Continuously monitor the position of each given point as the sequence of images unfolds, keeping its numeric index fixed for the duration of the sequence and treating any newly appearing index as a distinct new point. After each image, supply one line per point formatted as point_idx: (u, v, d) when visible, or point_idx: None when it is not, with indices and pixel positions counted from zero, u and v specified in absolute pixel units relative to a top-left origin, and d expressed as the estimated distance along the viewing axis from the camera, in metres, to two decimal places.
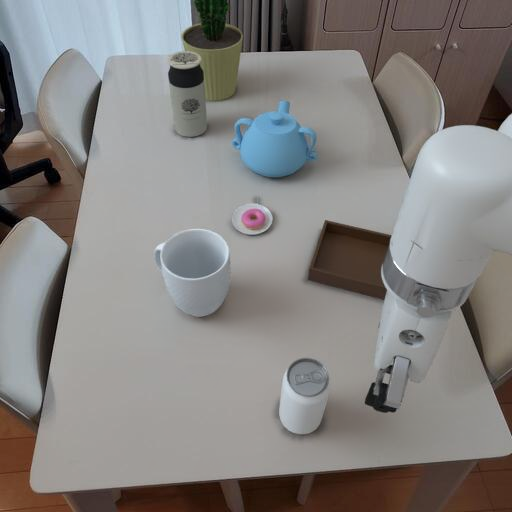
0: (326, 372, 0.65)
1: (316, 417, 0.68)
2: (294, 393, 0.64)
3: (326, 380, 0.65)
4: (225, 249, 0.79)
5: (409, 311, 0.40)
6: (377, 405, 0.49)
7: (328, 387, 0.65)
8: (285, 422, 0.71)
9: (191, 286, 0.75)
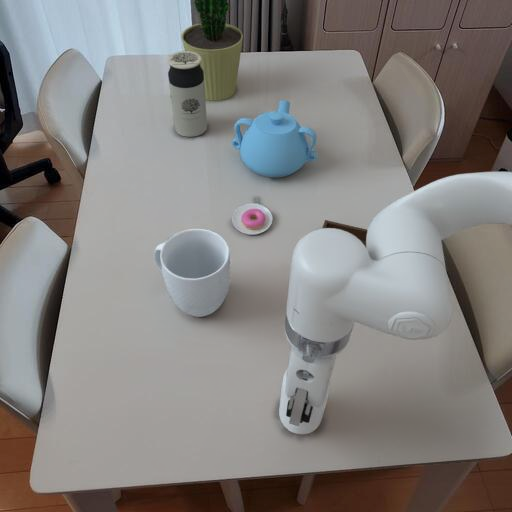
0: None
1: (316, 417, 0.68)
2: None
3: None
4: (225, 249, 0.79)
5: (301, 356, 0.54)
6: None
7: (328, 387, 0.65)
8: (285, 422, 0.71)
9: (191, 286, 0.75)
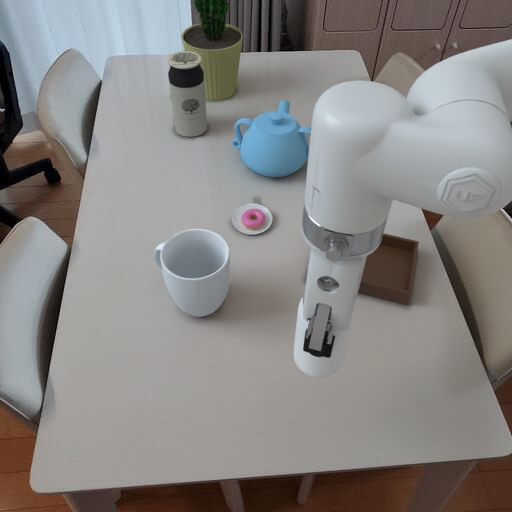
0: None
1: (338, 353, 0.58)
2: None
3: None
4: (225, 249, 0.79)
5: (323, 258, 0.44)
6: (312, 350, 0.54)
7: (352, 314, 0.55)
8: (301, 363, 0.61)
9: (191, 286, 0.75)
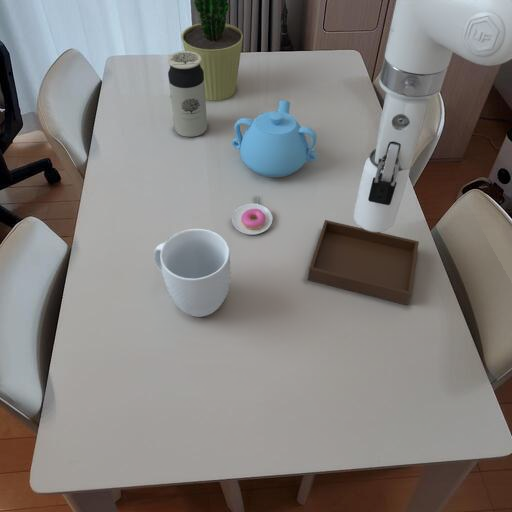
0: None
1: (394, 206, 0.72)
2: None
3: None
4: (225, 249, 0.79)
5: (399, 99, 0.58)
6: (377, 195, 0.69)
7: (408, 169, 0.69)
8: (362, 219, 0.75)
9: (191, 286, 0.75)
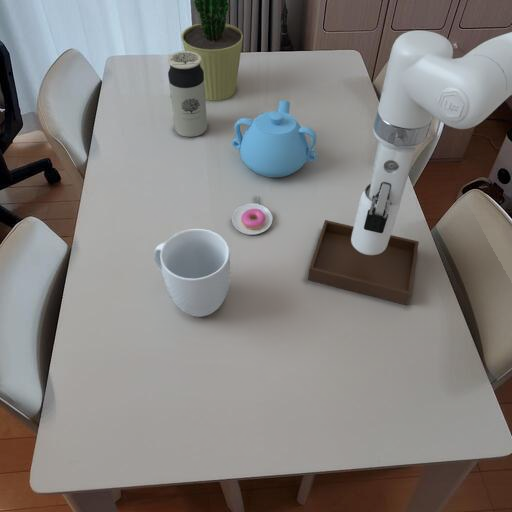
0: None
1: (386, 233, 0.82)
2: None
3: None
4: (225, 249, 0.79)
5: (389, 148, 0.68)
6: (371, 225, 0.79)
7: None
8: (358, 243, 0.85)
9: (191, 286, 0.75)
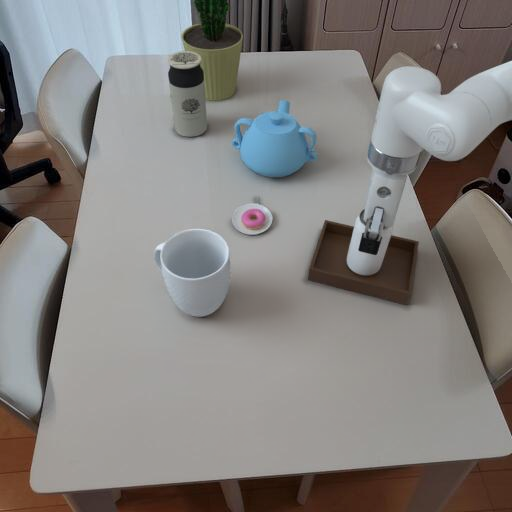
0: None
1: (380, 255, 0.87)
2: None
3: None
4: (225, 249, 0.79)
5: (382, 175, 0.72)
6: (366, 247, 0.81)
7: None
8: (353, 264, 0.90)
9: (191, 286, 0.75)
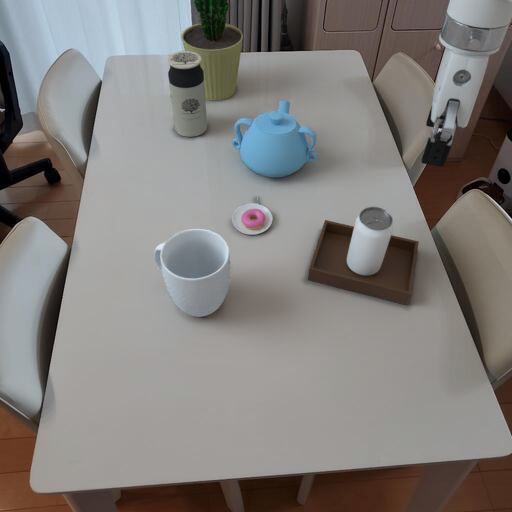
0: (390, 215, 0.84)
1: (380, 255, 0.87)
2: (366, 229, 0.83)
3: (390, 221, 0.84)
4: (225, 249, 0.79)
5: (461, 55, 0.60)
6: (432, 156, 0.69)
7: (391, 226, 0.84)
8: (353, 264, 0.90)
9: (191, 286, 0.75)
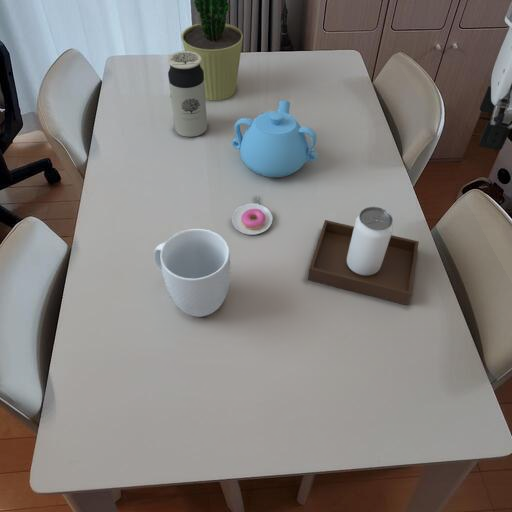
0: (390, 215, 0.84)
1: (380, 255, 0.87)
2: (366, 229, 0.83)
3: (390, 221, 0.84)
4: (225, 249, 0.79)
5: None
6: (491, 139, 0.69)
7: (391, 226, 0.84)
8: (353, 264, 0.90)
9: (191, 286, 0.75)
